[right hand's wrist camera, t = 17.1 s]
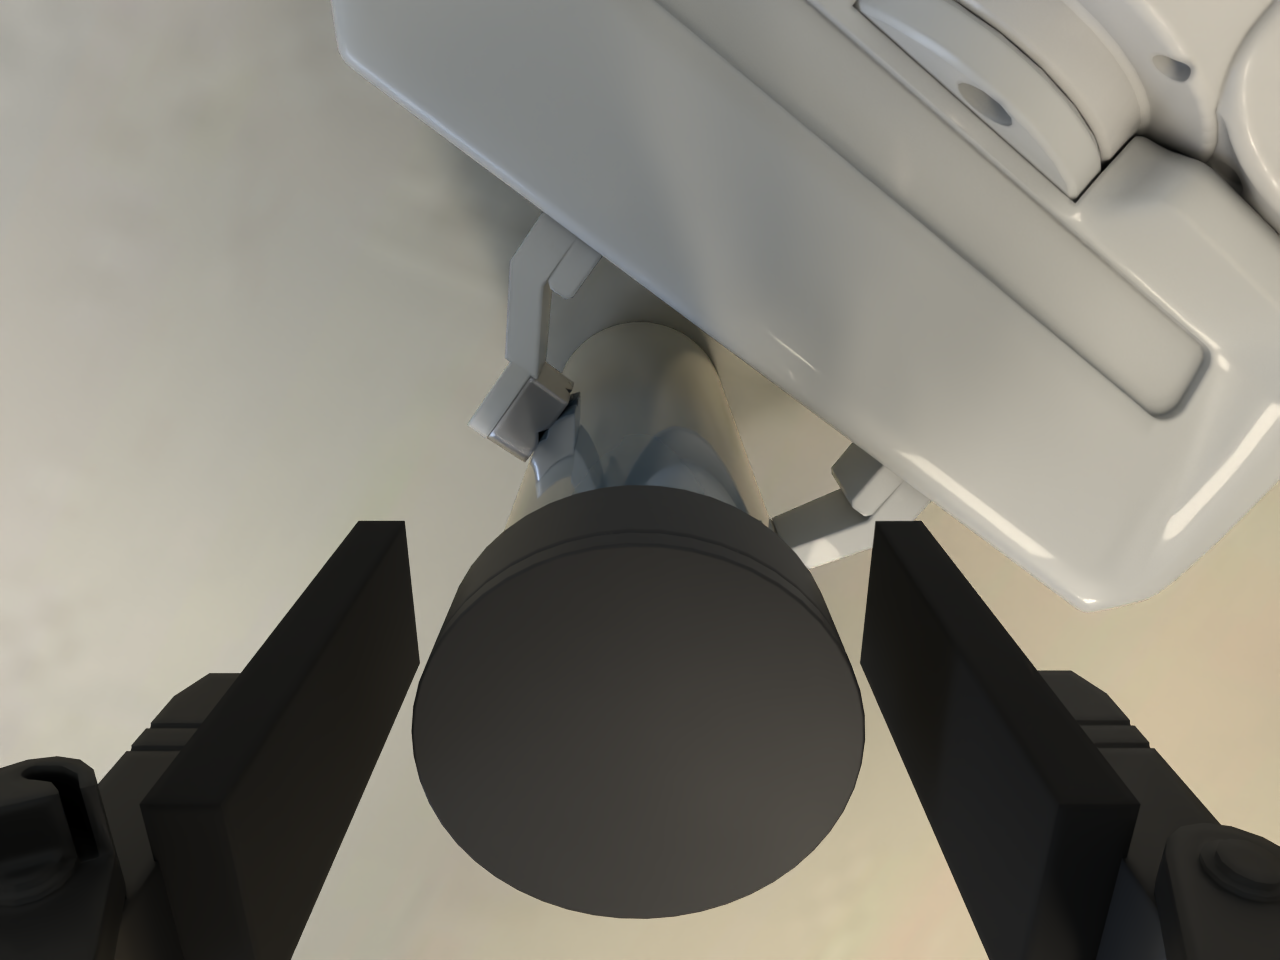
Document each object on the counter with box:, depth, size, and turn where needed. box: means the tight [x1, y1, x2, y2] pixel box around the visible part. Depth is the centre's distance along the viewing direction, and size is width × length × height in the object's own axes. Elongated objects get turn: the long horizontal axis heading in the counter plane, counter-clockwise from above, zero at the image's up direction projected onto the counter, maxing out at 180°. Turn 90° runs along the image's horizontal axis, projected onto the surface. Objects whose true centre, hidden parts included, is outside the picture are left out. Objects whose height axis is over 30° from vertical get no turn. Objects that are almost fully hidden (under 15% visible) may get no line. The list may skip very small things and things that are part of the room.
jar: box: [504, 322, 774, 532], centre depth 18 cm, size 5×5×15 cm
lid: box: [412, 485, 865, 919], centre depth 12 cm, size 6×6×2 cm
